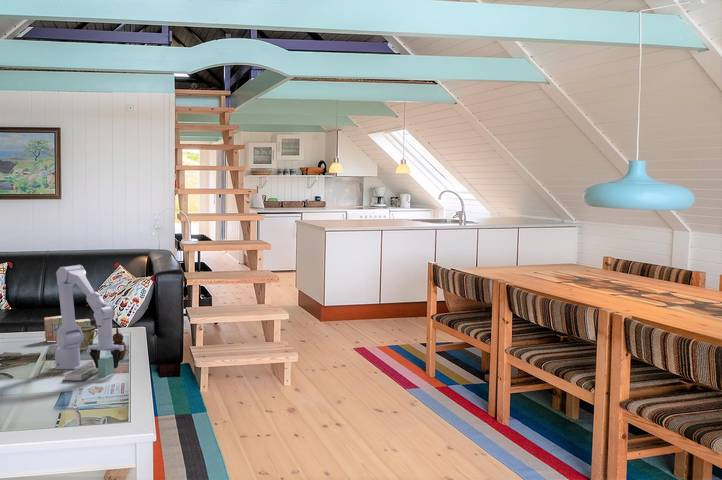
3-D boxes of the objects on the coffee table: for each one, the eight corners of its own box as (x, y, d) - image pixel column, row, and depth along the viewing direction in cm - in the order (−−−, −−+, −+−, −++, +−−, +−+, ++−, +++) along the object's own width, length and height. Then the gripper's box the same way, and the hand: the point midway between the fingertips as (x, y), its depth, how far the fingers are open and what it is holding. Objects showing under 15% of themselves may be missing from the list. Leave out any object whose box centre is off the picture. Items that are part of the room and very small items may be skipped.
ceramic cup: (69, 350, 345) (68, 329, 344) (84, 345, 354) (83, 325, 353) (90, 351, 340) (89, 330, 339) (105, 347, 349) (104, 326, 348)
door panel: (98, 376, 295) (97, 359, 294) (108, 371, 304) (107, 354, 303) (105, 376, 295) (104, 359, 294) (115, 371, 304) (114, 354, 303)
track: (62, 381, 289) (62, 375, 288) (88, 367, 310) (87, 361, 310) (84, 381, 288) (83, 375, 287) (108, 367, 310) (108, 361, 309)
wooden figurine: (120, 360, 322) (119, 327, 321) (108, 360, 323) (107, 326, 322) (128, 356, 328) (127, 324, 327) (116, 356, 330) (115, 323, 328)
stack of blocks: (89, 336, 376) (88, 312, 375) (91, 338, 371) (90, 314, 370) (45, 341, 366) (43, 317, 365) (46, 343, 361) (45, 319, 360)
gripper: (83, 337, 295) (85, 370, 296) (118, 337, 293) (119, 370, 294) (91, 333, 302) (93, 365, 303) (125, 333, 300) (126, 365, 301)
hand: (106, 367), depth 299 cm, fingers open, 7 cm apart
